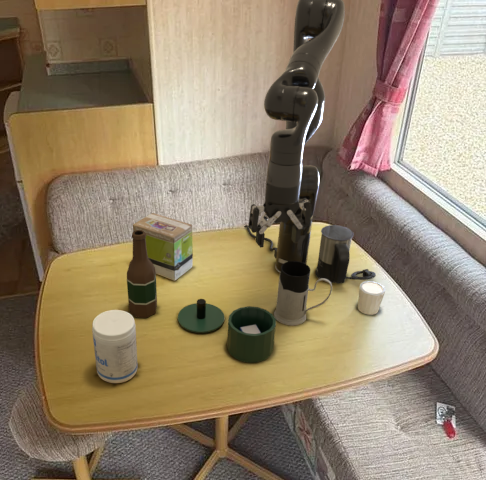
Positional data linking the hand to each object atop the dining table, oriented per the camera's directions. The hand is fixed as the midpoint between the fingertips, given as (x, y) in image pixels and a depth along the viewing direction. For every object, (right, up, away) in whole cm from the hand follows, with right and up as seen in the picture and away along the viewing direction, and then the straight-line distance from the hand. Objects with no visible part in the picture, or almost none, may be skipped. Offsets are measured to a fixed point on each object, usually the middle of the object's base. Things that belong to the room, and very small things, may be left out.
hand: (277, 243), depth 130 cm
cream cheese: (-6, -25, +8) cm, 27 cm away
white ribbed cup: (+28, -17, +23) cm, 40 cm away
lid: (-18, -19, +17) cm, 31 cm away
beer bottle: (-34, -17, +21) cm, 43 cm away
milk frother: (+24, -8, +36) cm, 44 cm away
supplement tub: (-38, -30, +1) cm, 48 cm away
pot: (-6, -25, +9) cm, 27 cm away
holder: (+8, -19, +19) cm, 28 cm away
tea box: (-30, -5, +39) cm, 50 cm away
